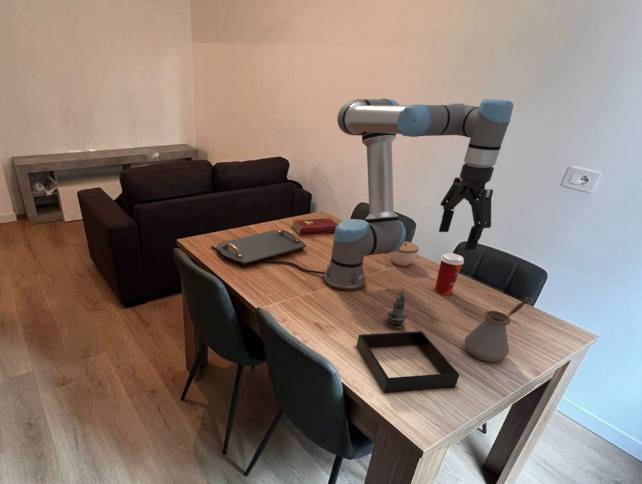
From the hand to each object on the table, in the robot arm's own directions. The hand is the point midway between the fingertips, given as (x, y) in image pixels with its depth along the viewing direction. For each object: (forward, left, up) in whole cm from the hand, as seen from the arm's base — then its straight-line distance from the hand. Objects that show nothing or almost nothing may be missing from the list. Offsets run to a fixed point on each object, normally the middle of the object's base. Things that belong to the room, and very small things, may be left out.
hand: (456, 240), depth 118 cm
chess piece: (-10, -8, -29) cm, 32 cm away
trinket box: (-19, +42, -29) cm, 54 cm away
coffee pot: (+18, -5, -29) cm, 35 cm away
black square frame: (-3, -28, -29) cm, 40 cm away
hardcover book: (-65, +58, -29) cm, 92 cm away
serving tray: (-75, +20, -29) cm, 82 cm away
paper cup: (0, +25, -29) cm, 38 cm away
